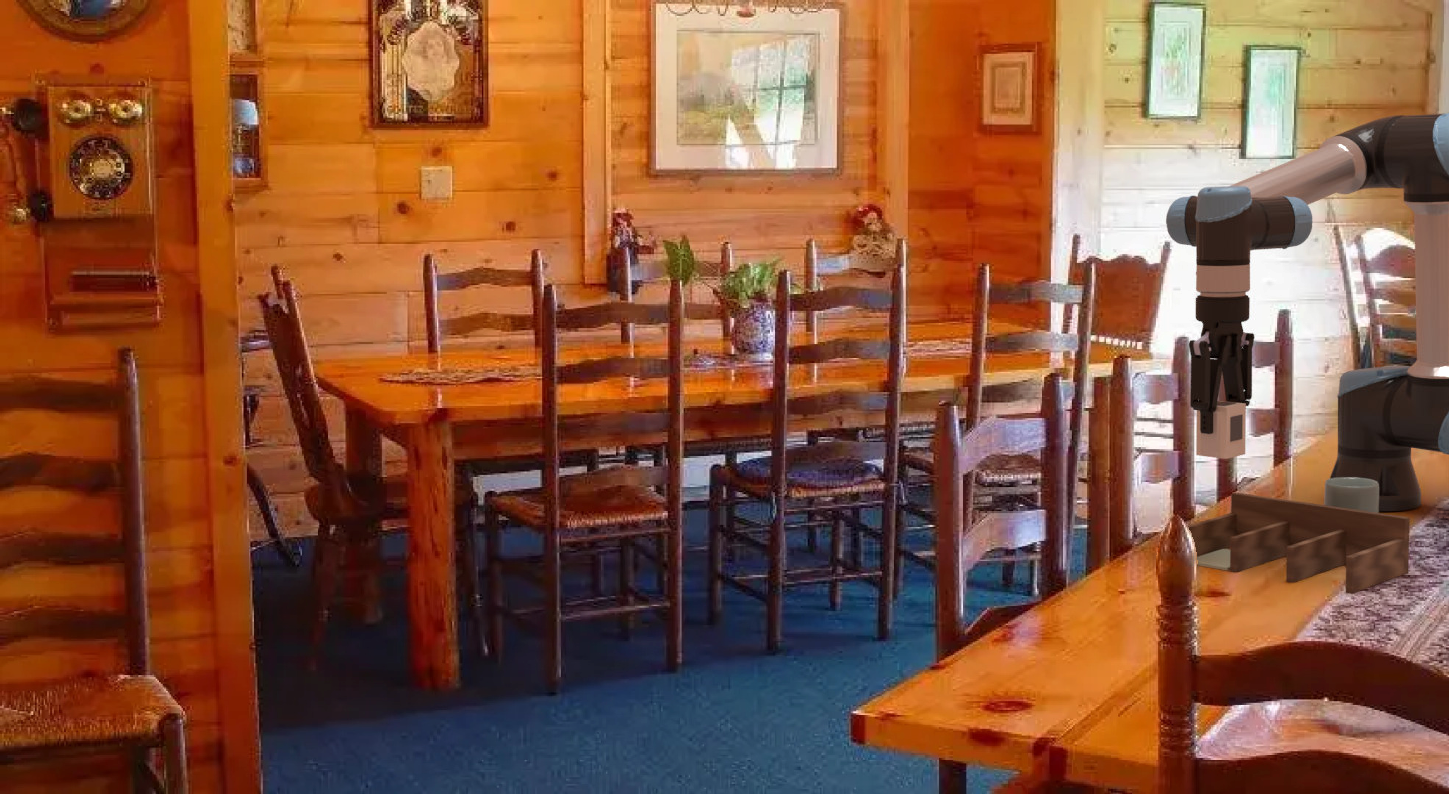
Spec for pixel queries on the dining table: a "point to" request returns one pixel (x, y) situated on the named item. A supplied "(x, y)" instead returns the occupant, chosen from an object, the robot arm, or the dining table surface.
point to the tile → (1216, 559)
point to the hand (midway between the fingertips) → (1221, 452)
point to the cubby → (1308, 539)
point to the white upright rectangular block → (1228, 429)
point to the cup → (1352, 493)
